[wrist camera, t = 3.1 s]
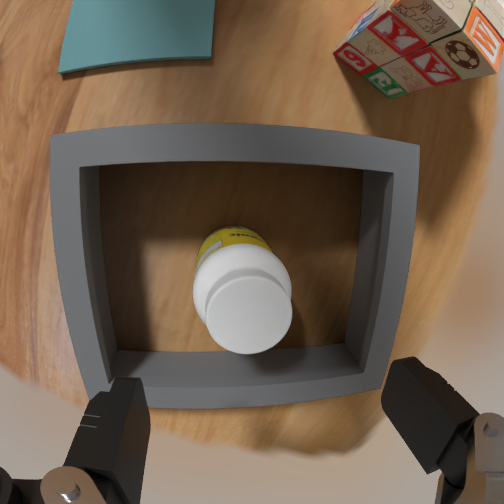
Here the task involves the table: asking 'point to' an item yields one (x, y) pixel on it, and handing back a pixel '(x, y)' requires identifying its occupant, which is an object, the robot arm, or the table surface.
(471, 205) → the table surface
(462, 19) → the stack of blocks
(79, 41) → the mat
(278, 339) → the supplement bottle
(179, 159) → the box
